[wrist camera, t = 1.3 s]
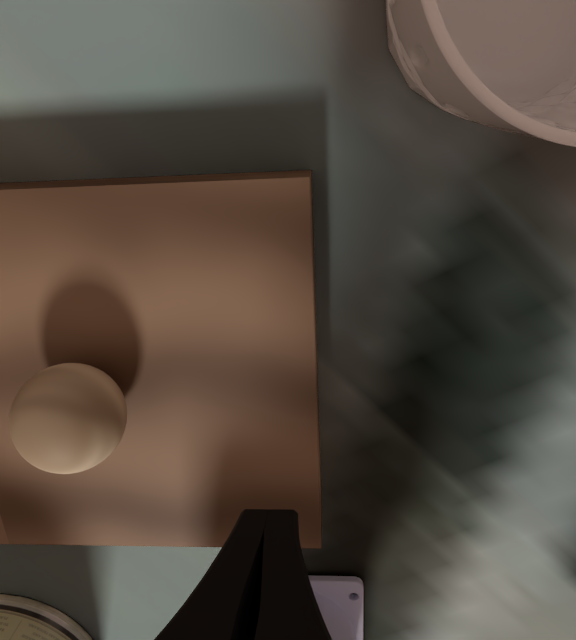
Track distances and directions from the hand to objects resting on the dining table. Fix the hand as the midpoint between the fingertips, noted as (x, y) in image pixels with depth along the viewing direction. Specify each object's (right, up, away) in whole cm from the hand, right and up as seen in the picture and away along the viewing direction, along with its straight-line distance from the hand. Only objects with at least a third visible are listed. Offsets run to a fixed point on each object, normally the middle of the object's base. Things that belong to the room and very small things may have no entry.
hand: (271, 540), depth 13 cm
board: (-9, +4, +11) cm, 14 cm away
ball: (-8, +2, +6) cm, 10 cm away
